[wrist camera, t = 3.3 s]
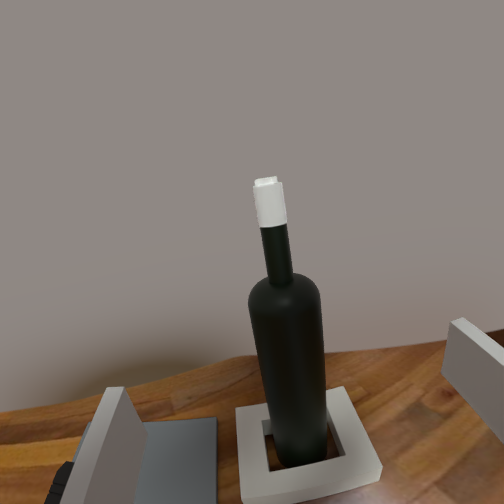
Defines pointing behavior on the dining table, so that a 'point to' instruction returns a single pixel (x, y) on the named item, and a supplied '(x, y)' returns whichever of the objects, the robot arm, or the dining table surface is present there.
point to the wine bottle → (288, 339)
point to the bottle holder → (308, 476)
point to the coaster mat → (177, 462)
